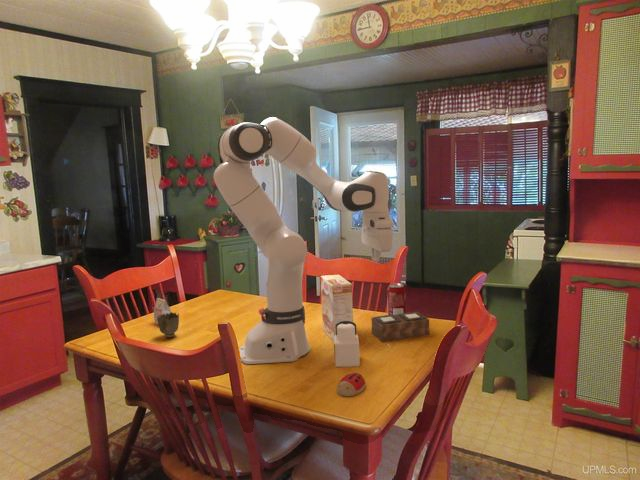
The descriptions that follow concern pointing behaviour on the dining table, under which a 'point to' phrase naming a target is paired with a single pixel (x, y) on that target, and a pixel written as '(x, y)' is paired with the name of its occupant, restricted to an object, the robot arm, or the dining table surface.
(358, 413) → the dining table surface
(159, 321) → the cup
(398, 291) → the soda can
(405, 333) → the walnut block
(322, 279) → the coffeecake box
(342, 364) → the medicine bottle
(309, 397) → the dining table surface
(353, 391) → the ladybug figurine
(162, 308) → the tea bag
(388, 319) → the peg near sage
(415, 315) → the peg far cream
